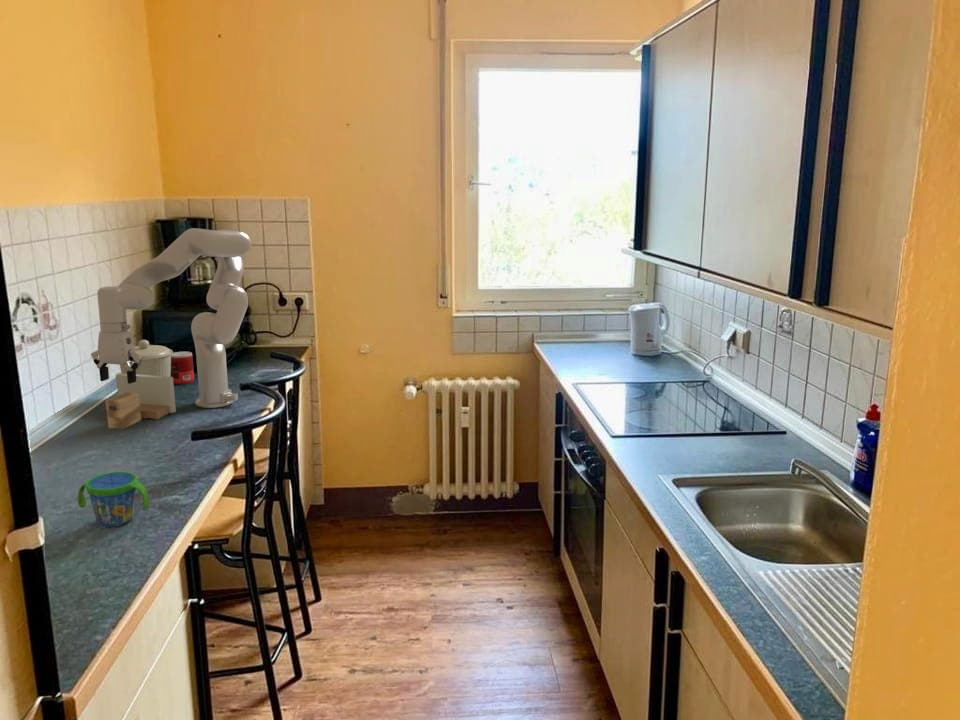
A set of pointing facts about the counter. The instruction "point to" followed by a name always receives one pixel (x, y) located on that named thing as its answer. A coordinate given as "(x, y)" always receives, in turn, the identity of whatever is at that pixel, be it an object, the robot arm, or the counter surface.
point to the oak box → (123, 410)
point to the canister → (152, 360)
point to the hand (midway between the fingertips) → (118, 381)
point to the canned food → (182, 367)
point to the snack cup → (113, 497)
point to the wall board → (150, 393)
